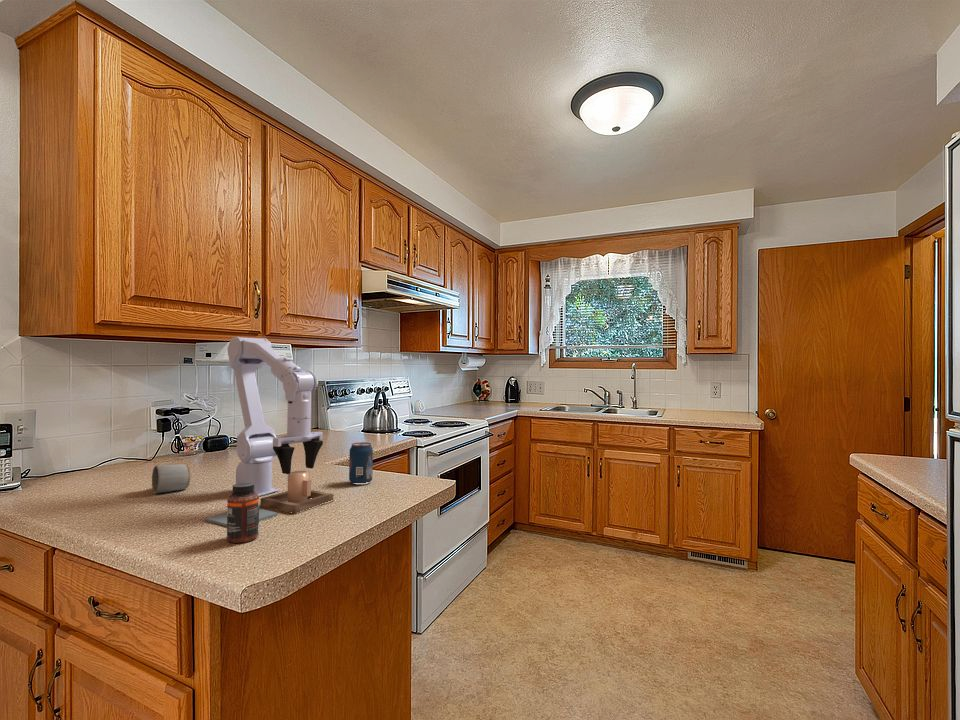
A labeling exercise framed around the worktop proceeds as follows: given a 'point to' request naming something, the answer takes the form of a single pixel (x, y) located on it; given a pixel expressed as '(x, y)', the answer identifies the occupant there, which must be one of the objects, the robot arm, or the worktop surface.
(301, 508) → the frame
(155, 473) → the grey cylinder
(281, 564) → the worktop surface
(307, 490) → the peach capsule with nub
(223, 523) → the mat
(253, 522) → the supplement bottle
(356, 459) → the soda can
